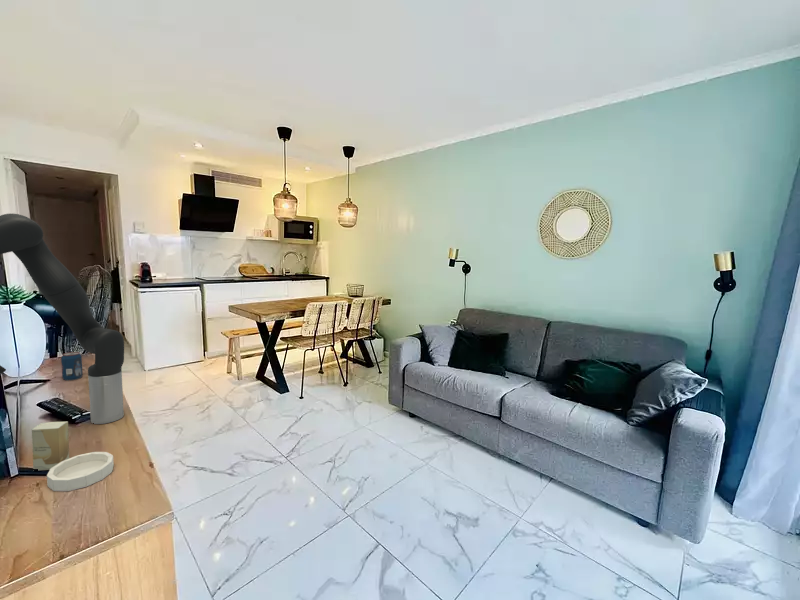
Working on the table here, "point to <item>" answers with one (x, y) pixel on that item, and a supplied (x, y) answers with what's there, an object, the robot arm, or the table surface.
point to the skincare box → (50, 444)
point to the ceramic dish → (80, 471)
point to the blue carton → (71, 366)
